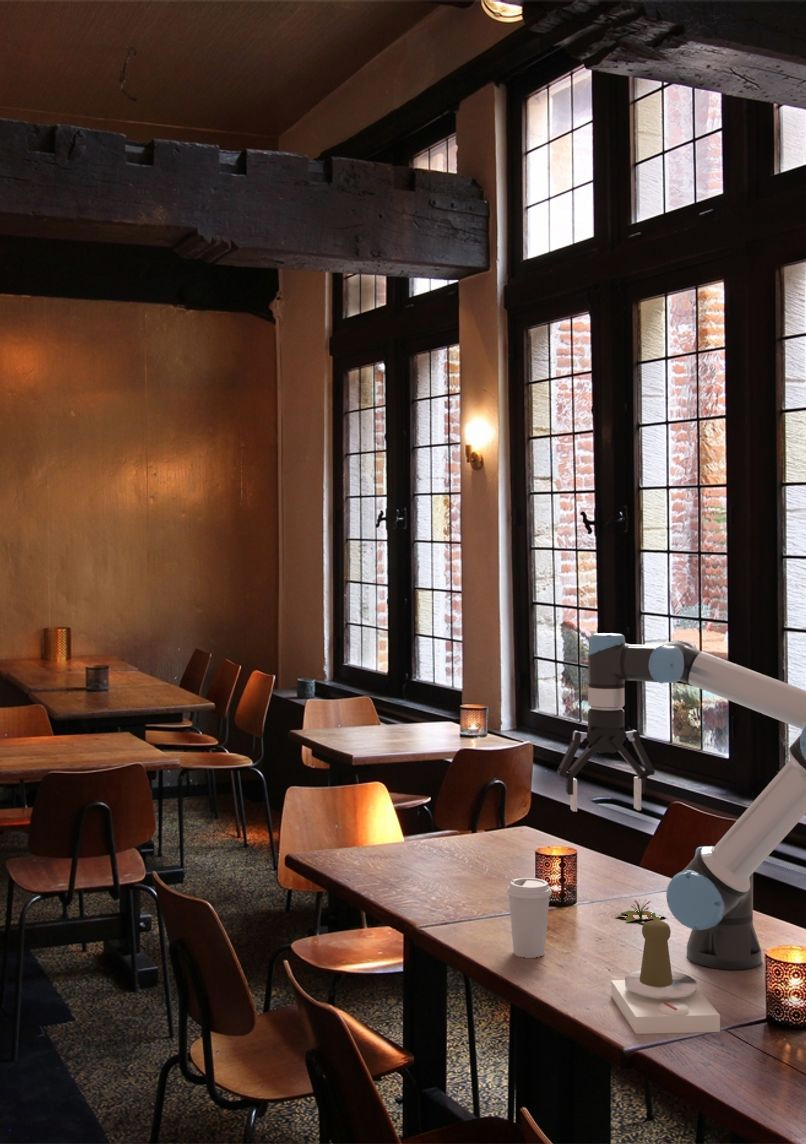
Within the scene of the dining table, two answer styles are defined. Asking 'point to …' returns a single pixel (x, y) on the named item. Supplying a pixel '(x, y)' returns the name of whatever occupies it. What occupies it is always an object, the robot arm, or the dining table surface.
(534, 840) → the dining table surface
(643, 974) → the cork
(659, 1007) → the scale base
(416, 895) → the dining table surface
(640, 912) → the lily flower
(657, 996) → the pan
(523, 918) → the coffee cup
